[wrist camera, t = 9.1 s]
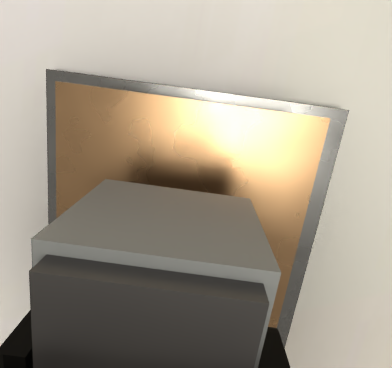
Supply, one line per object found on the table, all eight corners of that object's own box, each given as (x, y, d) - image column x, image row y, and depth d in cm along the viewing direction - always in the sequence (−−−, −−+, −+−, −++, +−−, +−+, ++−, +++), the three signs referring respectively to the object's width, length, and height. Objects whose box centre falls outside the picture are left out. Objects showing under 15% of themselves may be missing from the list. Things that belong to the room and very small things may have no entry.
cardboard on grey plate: (280, 339, 21) (302, 411, 16) (57, 309, 21) (12, 372, 16) (340, 109, 16) (397, 114, 11) (55, 70, 16) (-9, 59, 11)
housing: (250, 198, 10) (289, 292, 5) (212, 393, 13) (215, 575, 8) (105, 179, 10) (12, 254, 5) (97, 377, 13) (29, 550, 8)
